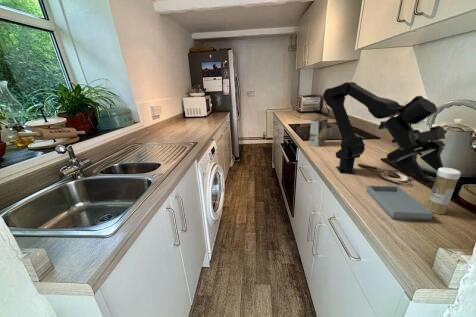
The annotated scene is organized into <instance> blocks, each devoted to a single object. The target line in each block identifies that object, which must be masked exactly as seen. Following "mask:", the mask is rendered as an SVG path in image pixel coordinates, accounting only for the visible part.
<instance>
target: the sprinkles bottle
mask: <svg viewBox="0 0 476 317" xmlns="http://www.w3.org/2000/svg"><path fill="white" fill-rule="evenodd" d="M461 174H462V172H461V171H460V170H457V169H455V168H450V167H443V168H439V169H438V171H436V177H435V179H434V181H433V182H434V183H433V185H432V188H431V190H430V193H429V196H428V200H427V203H426V205H425V208H427V209H428V210H429V211H431V212H432V213H433V214H437V215H443V214H446V212H447V208H448V206H449V204H450V202H451V199H452V197H453V193H454V191H455V188H456V186H457V182H458V181H459V179H460V177H461Z"/></svg>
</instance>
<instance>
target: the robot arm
mask: <svg viewBox="0 0 476 317" xmlns="http://www.w3.org/2000/svg"><path fill="white" fill-rule="evenodd" d="M347 96H350V97H351V98H353V99H354V100H356V101H357V102H359V104H362V105H363V106H365V107H366V108H367V110H368V112H369V114H371V115H372V116H373V118H375V119H379V120H381V119H387V118H388V119H387V120H383V121H380V124H379V126H378V130H384V129H385V130H387V132H388V133H389V135H390V136H391V137H392V139H391V143H392V144H395V143H396V144H397V146H398V148H396V149H394V150H392V151H391V152H389V153H387V154H386V159H387V161H388V163H389V164H392V163H393V165H396V166H398V167H400V168H401V169H404V170H406V171H407V172H409V173H411V174H412V175H413V176H415V177H417V178H418V179H420V180H422V179H425V178H426V176H425V174H424V172H423V170H422V168H421V167H420V165H419V163H418V161H417V158H418V156H419V158H420V159H421V160H422V161H424V162H425V163H426V164H427V165H429V166H430V167H431V168H432V169H433V170H435V171H436V172H437V171H438V169H439V168H444V164H443V162H442V161H443V160H442V158H441V155H442V152H443V150H444V149H445V147H446V144H445V143H444V141H443V140H444V139H446V134H447V133H448V131H447V130H446V129H445V127H442V126H441V125H436V126H431V127H430V128H429V130H426V131H421V130H419V129H414V128H413V127H412V126H411V124H412V125H417V124H419V123H421V122H423V121H424V120H426V119H427V118H429V117H431V116H432V115H434V114H436V113H437V112H438V107H437V106H436V104H435V103H434V102H431V100H429V99H427V98H424V96H423V95H416V96H415V97H414V98H412V99H411V100H410V101H409V102H407V103H406V104H405V105H402V104H400V103H399V102H397V101H396V100H392V99H390V98H385V97H380V96H377V95H376V94H374V93H373V92H371V91H369V90H367V89H365V88H363V87H362V86H360V85H358V84H357V83H355V81H353V82H352V81H351V82H350V81H348V82H344V83H342V84H340V85H336V86H333V87H329V88H326V89H325V90H324V92H323V94H322V98H323V101H324V102H325V105H327V106H328V107H329V108H330V109H331V111H332V113H333V116H334V120H335V122H336V124H337V128H338V130H339V133H340V136H341V140H340V149H339V150H337V151H336V152H335V158H337V159H339V165H337V166H335V168H336V169H337V170H338V171H339V173H340V174H357V171H356V170H355V169H354V165H355V159H357V158H358V159H359V158H360V157H361V156H362V155H363V154H364V152H365V149H366V148H365V147H366V144H365V143H364V140H363V137H362V136H357V135H356V134H355V131H354V129H353V127H352V123H351V122H350V118H349V115H348V112H347V110H346V107H345V100H346V97H347Z"/></svg>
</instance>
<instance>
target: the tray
mask: <svg viewBox="0 0 476 317" xmlns="http://www.w3.org/2000/svg"><path fill="white" fill-rule="evenodd" d="M365 192H366V193H367V194H368V196H370V197H371V199H372V200H374V202H375V203H376V204H377V205H378V206H379V208H380V209H381V210H383V211H384V212H385V213H386V215H387V216H388V217H389V218H390V219H391V220H403V221H406V220H407V221H421V222H422V221H426V222H431V220H432V218H433V216H434V213H433V212H431V211H429V210H428V209H427V208H426V206H424V205H423V204H421V203H420V202H419V201H417V200H416V199H415V198H414V197H412V195H410V194H409V193H408V192H407V191H405V190H403V189H402V188H401V187H400V186H398V185H366V190H365Z"/></svg>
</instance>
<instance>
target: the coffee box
mask: <svg viewBox="0 0 476 317" xmlns="http://www.w3.org/2000/svg"><path fill="white" fill-rule="evenodd" d="M327 127H328V119H325V118H316V119H311V120H310V130H309V141H308V145H310V146H313V147H320V146H322V145H324V144H325V143H326V136H327V129H328V128H327Z"/></svg>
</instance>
